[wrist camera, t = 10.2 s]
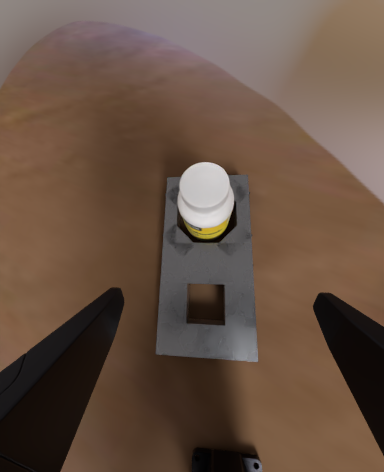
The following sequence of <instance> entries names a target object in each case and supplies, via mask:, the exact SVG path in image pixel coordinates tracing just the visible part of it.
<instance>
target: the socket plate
mask: <svg viewBox="0 0 384 472" xmlns="http://www.w3.org/2000/svg"><path fill="white" fill-rule="evenodd" d="M228 177H229V181H230V186H231V188H232V190H233V194H234V206H233V210H234V229H233V230H232V231H231V232H230V233H229V234H228V235H227V236H226V237H225V238H224V239H223V240H222V241H221V242H219V243H193V242H192V241H191V240H190V239H189V238H188V237H187V236H186V235H185V234H184V233H183V232H182V231H181V230H180V223H181V214H180V212H179V209H178V194H179V191H180V188H179V184H180V179H181V177H167V191H166V194H165V195H166V206H165V221H164V234H163V235H162V236H163V251H162V266H161V281H160V296H159V311H158V326H157V341H156V354H158V355H171V356H185V357H198V358H212V359H225V360H239V361H252V362H258V351H257V333H256V315H255V296H254V278H253V260H252V242H251V237H252V234H251V223H250V205H249V194H250V192H249V187H248V175H228ZM190 284H223V308H224V320H210V319H190V318H189V300H190Z"/></svg>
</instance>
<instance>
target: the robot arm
mask: <svg viewBox="0 0 384 472" xmlns="http://www.w3.org/2000/svg"><path fill="white" fill-rule="evenodd" d="M123 306H124V297H123V294H122V290H121V288H114V287H113V288H110V289H109V290H107V291H106V292H105V293H103V294H102V295H101V296H99V297H98V298H97V299H96V300H94V301H93V302H92V303H90V304H89V305H88V306H86V307H85V308H84V309H82V310H81V311H80V312H78V313H77V314H76V315H75V316H73V317H72V318H71V319H69V320H68V321H67V322H65V323H64V324H63V325H61V326H60V327H59V328H58V329H56V330H55V331H54V332H52V333H51V334H50V335H48V336H47V337H46V338H44V339H43V340H42V341H41V342H39V343H38V344H37V345H35V346H34V347H33V348H31V349H30V350H29V351H28V352H27V353H25V354H23V355H22V356H21V357H19V358H18V359H17V360H16V361H14V362H13V363H12V364H10V365H9V366H8V367H6V368H5V369H4V370H2V371H1V372H0V472H60V471H61V469H62V466H63V464H64V461H65V459H66V456H67V454H68V451H69V449H70V446H71V444H72V441H73V439H74V437H75V434H76V432H77V429H78V427H79V424H80V422H81V419H82V417H83V414H84V412H85V409H86V407H87V404H88V402H89V399H90V397H91V394H92V392H93V389H94V387H95V384H96V382H97V379H98V377H99V375H100V372H101V370H102V367H103V365H104V362H105V360H106V357H107V355H108V352H109V350H110V347H111V345H112V342H113V340H114V337H115V334H116V330H117V327H118V324H119V320H120V317H121V313H122V310H123ZM313 310H314V312H315V315H316V318H317V320H318V323H319V325H320V328H321V330H322V333H323V335H324V338H325V340H326V343H327V345H328V347H329V349H330V351H331V353H332V355H333V357H334V359H335V361H336V363H337V365H338V367H339V369H340V371H341V373H342V375H343V377H344V379H345V381H346V383H347V385H348V387H349V389H350V391H351V393H352V394H353V396H354V398H355V400H356V402H357V404H358V406H359V408H360V410H361V412H362V414H363V416H364V418H365V420H366V422H367V424H368V426H369V428H370V430H371V432H372V434H373V436H374V438H375V440H376V442H377V444H378V446H379V448H380V450H381V451H382V453H383V455H384V327H383V326H382V325H380V324H378V323H377V322H375V321H374V320H372V319H371V318H369V317H367V316H366V315H364V314H363V313H361V312H360V311H358V310H357V309H355V308H353V307H352V306H350V305H349V304H347V303H346V302H344V301H342V300H341V299H339V298H338V297H336V296H335V295H333V294H331V293H319V294H318V296H317V298H316V300H315V302H314V305H313ZM195 455H199V457H196V456H195ZM254 463H258V464H257V465H254ZM192 472H262V465H261V461H260V459H259V457H258V456H256V455H250V454H243V453H238V452H230V451H222V450H211V449H204V448H195V449H194V450H193V453H192Z"/></svg>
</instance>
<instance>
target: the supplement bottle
mask: <svg viewBox="0 0 384 472" xmlns="http://www.w3.org/2000/svg"><path fill="white" fill-rule="evenodd" d="M179 188H180V191H179V194H178V209H179V212H180V214H181V216H182V218H183V221H184V223H185V225H186V227H187V229H188V231H189V232H190V234H191V235H192V236H194V237H195V238H197V239H199V240H202V241H211V240H215V239H217V238H219V237H220V236H221V235H222V234H223V233H224V231H225V230H226V228H227V225H228V222H229V219H230V216H231V213H232V210H233V206H234V194H233V190H232V188H231V186H230V181H229V177H228V175H227V173H226V172H225V170H224V169H223V168H222V167H220V166H219V165H217V164H214V163H210V162H201V163H197V164H194V165H192V166H191V167H189V168H188V169H187V170H186V171H185V172H184V173H183V175H182V177H181V179H180V184H179Z"/></svg>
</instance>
